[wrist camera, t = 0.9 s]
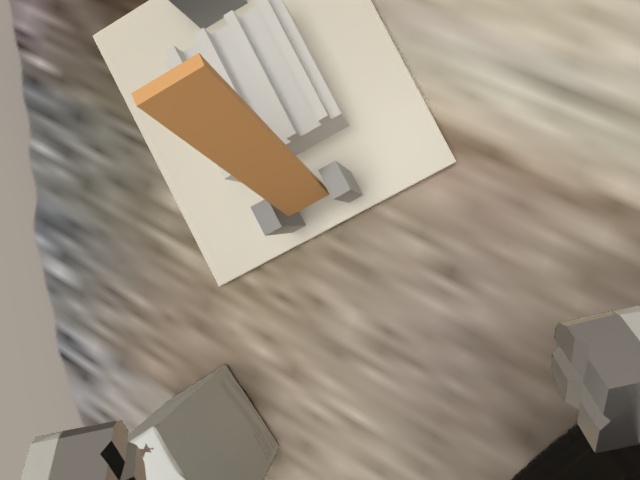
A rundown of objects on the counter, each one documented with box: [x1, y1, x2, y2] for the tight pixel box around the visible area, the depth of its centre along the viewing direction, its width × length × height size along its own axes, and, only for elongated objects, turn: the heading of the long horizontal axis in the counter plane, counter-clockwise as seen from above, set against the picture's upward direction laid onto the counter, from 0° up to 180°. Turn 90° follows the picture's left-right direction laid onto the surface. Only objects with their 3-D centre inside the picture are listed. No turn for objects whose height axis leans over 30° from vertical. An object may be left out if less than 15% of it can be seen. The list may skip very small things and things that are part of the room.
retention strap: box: [131, 53, 329, 217], centre depth 31 cm, size 18×3×1 cm
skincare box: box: [128, 365, 279, 480], centre depth 41 cm, size 8×6×15 cm
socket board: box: [93, 0, 456, 286], centre depth 42 cm, size 20×22×11 cm
